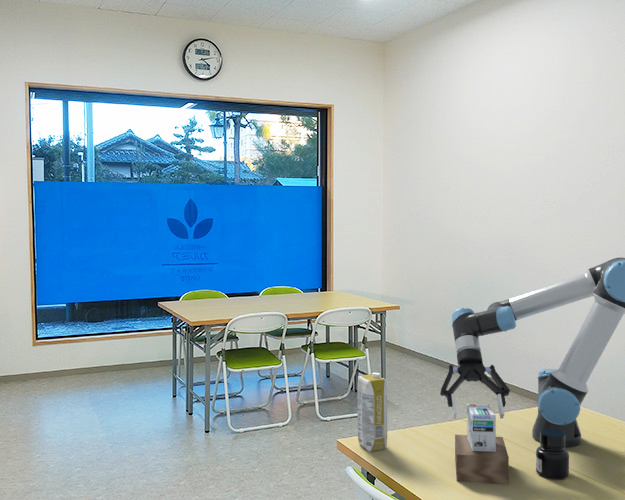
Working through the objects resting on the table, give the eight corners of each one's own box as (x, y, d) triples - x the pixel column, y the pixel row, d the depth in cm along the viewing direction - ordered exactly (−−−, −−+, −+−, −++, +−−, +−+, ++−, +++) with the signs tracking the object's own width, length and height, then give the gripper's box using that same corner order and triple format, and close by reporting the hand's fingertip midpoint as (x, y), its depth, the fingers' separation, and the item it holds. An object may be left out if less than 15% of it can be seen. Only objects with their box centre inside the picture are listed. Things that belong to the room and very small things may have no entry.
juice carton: (390, 449, 197) (389, 375, 196) (368, 453, 194) (367, 378, 193) (376, 439, 206) (375, 368, 205) (355, 443, 203) (354, 371, 202)
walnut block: (502, 463, 186) (502, 437, 186) (508, 485, 171) (508, 457, 170) (455, 460, 189) (455, 434, 189) (456, 482, 174) (456, 454, 173)
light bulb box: (496, 452, 174) (496, 414, 173) (472, 452, 175) (472, 414, 174) (489, 438, 185) (489, 403, 184) (466, 438, 185) (466, 403, 185)
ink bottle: (542, 464, 184) (542, 425, 183) (573, 471, 178) (573, 431, 178) (530, 475, 177) (531, 434, 176) (562, 483, 171) (563, 441, 170)
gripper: (507, 359, 195) (519, 422, 181) (427, 359, 197) (434, 422, 183) (511, 346, 190) (524, 410, 176) (429, 347, 191) (436, 410, 177)
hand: (478, 416), depth 179 cm, fingers open, 13 cm apart
